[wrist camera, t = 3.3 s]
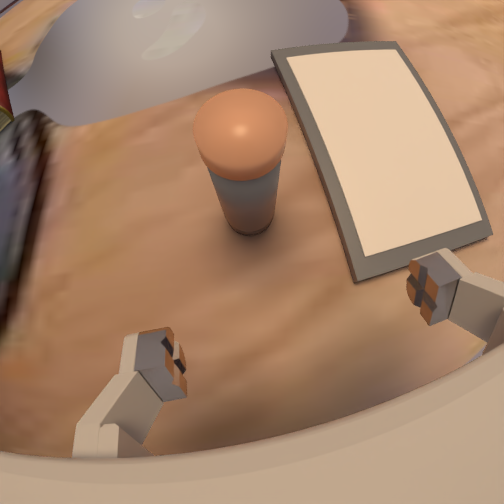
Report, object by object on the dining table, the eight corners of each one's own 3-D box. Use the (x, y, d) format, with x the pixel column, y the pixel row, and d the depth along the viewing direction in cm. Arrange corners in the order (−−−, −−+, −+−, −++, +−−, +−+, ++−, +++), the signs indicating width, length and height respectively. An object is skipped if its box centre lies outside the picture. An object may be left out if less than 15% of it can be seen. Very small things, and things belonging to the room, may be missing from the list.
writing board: (353, 282, 23) (358, 281, 22) (270, 57, 27) (271, 49, 26) (486, 237, 23) (494, 233, 22) (393, 47, 27) (396, 40, 26)
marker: (231, 243, 24) (203, 176, 12) (219, 196, 24) (186, 101, 13) (281, 230, 24) (300, 152, 12) (267, 184, 24) (272, 81, 13)
